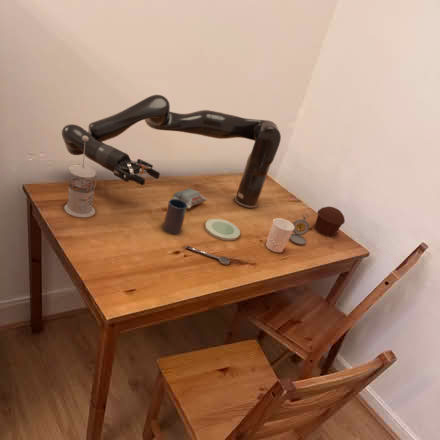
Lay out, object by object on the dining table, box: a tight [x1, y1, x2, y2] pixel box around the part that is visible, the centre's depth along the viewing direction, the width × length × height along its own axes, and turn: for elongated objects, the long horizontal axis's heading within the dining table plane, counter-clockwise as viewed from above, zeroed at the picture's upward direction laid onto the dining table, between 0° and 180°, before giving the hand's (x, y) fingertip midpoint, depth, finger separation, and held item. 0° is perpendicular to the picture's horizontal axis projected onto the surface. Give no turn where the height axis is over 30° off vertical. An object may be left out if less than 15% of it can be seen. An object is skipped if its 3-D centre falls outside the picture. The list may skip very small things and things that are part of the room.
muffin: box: [314, 206, 345, 237], centre depth 178 cm, size 12×11×10 cm
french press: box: [63, 136, 97, 218], centre depth 137 cm, size 10×12×25 cm
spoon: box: [185, 245, 231, 266], centre depth 142 cm, size 4×16×1 cm, turn 78°
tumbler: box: [162, 198, 188, 235], centre depth 146 cm, size 6×6×10 cm
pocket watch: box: [289, 213, 310, 246], centre depth 165 cm, size 8×8×10 cm
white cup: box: [265, 217, 294, 253], centre depth 155 cm, size 8×8×10 cm
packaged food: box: [171, 187, 208, 209], centre depth 165 cm, size 9×12×5 cm
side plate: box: [204, 218, 241, 242], centre depth 157 cm, size 13×13×1 cm
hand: (151, 179), depth 143 cm, fingers open, 8 cm apart
